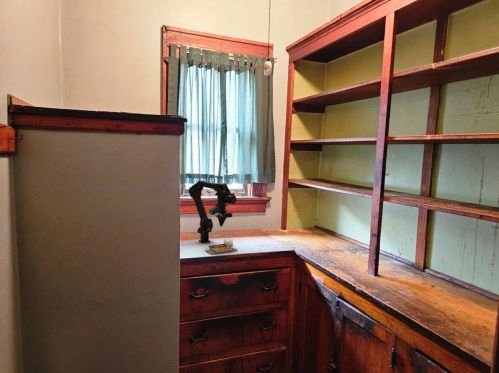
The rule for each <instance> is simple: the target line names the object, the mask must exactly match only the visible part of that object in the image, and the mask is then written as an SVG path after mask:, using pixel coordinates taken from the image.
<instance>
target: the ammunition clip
mask: <svg viewBox="0 0 499 373" xmlns="http://www.w3.org/2000/svg"><path fill="white" fill-rule="evenodd" d="M209 249H211V250H212V251H215V252H217V253H219V252H221V251H222V252H224V251H225V252H226V253H228V252H227V251H229V250H230V251H232V249H230V248H229V246H227V245H226V244H224V243H220V244H219V243H218V244H211V245H208V250H209Z"/></svg>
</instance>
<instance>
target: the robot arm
mask: <svg viewBox="0 0 499 373" xmlns="http://www.w3.org/2000/svg"><path fill="white" fill-rule="evenodd" d="M228 186H229V185H228V184H227V183H225V182H222V183H220V182H219V183H216V182H211V181H206V180H198V181H197V182H195V183H193V184H192V185H191V186H190V187H189V188H188V195H189V196H190V198H191V199H193V201H194V204H195V207H196V211H197V214H198V217H199V218H200V221H199V227H198V228H197V230H196V232H197V233H198V234H199V237H200V238H199V239H198V242H200V243H202V244H203V243H211V240H210V237H209V235H210V233H212V232H213V227H214V222H213V219H212V218H211V217H208V215H207V211H206V208H205V205H204V203H203V200H202V194H203V193H202V191H203V190H204V188H206V189H210V190H214V192H215V193H214V196H216V201H217V202H216V203H215V206H213V207H211V208H209V209H208V213H209V215H211V216H214V217H216V218H217V220H218V223H219V224H218V225H219V226H220V227H223V226H224V224H225V222H226V220H227V219H228V218H233V213H232V212H229V211H228V210H227V206H228V204H230V205H235V204H236V202H237V199H238V198H237V196H236V195H235V193H234V192H231V190H230V189H229V187H228Z"/></svg>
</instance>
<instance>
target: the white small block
mask: <svg viewBox="0 0 499 373" xmlns="http://www.w3.org/2000/svg"><path fill="white" fill-rule="evenodd" d="M223 244H226V245H227V246H228V247H229V246H231V247H233V245H234V239H232V238H225V239H223Z"/></svg>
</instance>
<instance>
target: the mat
mask: <svg viewBox="0 0 499 373" xmlns="http://www.w3.org/2000/svg"><path fill="white" fill-rule="evenodd" d="M228 247H229V248H230V249H232V251H230V250H229V251H227V252H225V251H224V252H222V251H221V252H219V253H217V252H215V251H212V250H211V249H209V248H208V249H204V252H205V253H207V254H209V255H211V256H214V255H219V254H226V253H232V252H237V251H238V249H237V248H235V247H233V246H228ZM213 254H214V255H213Z"/></svg>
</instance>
